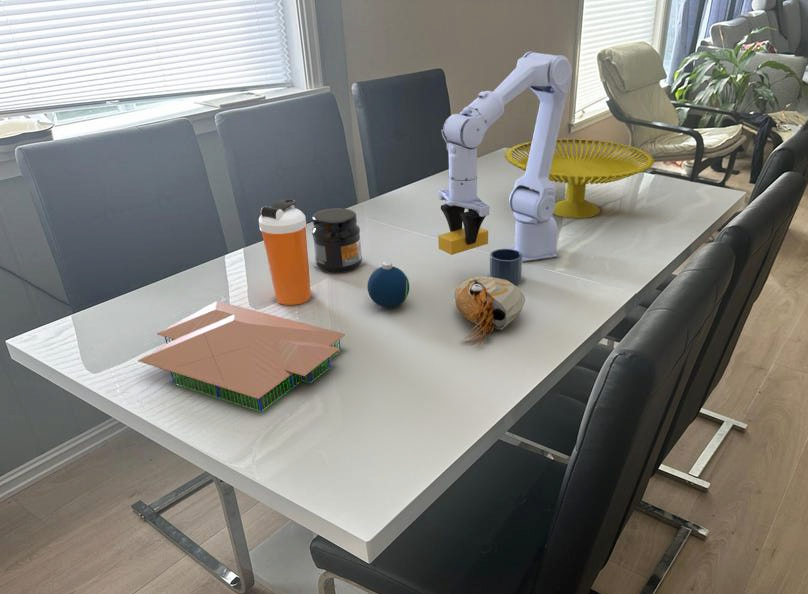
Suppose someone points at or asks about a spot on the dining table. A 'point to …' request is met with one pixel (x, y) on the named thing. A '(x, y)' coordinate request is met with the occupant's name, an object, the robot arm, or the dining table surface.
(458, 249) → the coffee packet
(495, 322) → the nautilus
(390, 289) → the christmas ornament
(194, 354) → the house
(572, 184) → the cake stand
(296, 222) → the shaker bottle
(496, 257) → the espresso cup
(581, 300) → the dining table surface
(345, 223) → the supplement container
